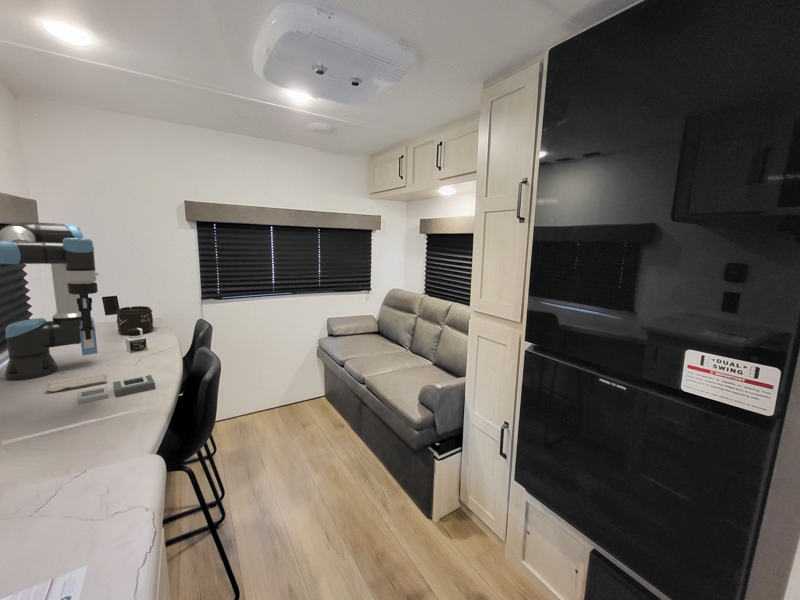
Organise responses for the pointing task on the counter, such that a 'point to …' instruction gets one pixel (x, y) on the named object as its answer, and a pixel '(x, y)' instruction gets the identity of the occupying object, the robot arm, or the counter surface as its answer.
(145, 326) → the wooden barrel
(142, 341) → the medicine bottle
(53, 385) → the washcloth
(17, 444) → the counter surface
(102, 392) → the grey square tray
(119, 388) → the port block
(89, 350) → the plug
